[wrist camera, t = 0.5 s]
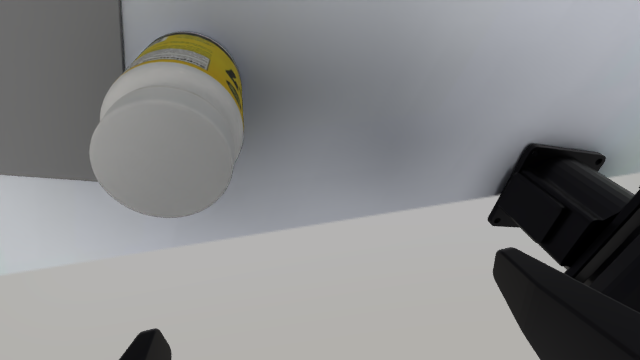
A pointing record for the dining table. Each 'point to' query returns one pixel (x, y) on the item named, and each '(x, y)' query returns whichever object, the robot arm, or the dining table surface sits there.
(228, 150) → the supplement bottle
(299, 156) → the dining table surface
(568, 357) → the robot arm
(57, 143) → the mat
